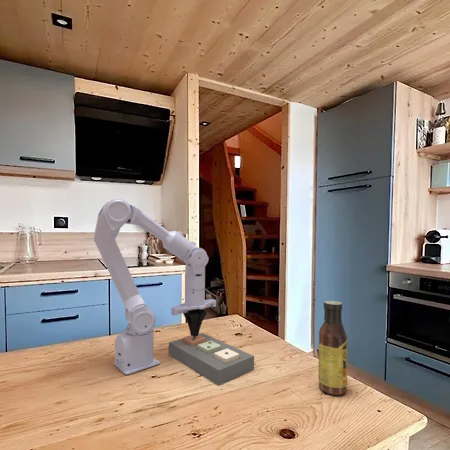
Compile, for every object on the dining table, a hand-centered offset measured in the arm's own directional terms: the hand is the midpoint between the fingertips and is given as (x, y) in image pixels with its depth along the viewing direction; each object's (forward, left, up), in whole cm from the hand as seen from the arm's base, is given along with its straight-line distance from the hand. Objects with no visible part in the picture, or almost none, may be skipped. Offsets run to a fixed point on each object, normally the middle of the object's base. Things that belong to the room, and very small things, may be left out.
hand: (194, 335), depth 88 cm
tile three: (0, 0, -2) cm, 2 cm away
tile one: (0, -14, -3) cm, 14 cm away
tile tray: (0, -7, -5) cm, 9 cm away
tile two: (0, -7, -3) cm, 7 cm away
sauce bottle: (+13, -36, -5) cm, 39 cm away
